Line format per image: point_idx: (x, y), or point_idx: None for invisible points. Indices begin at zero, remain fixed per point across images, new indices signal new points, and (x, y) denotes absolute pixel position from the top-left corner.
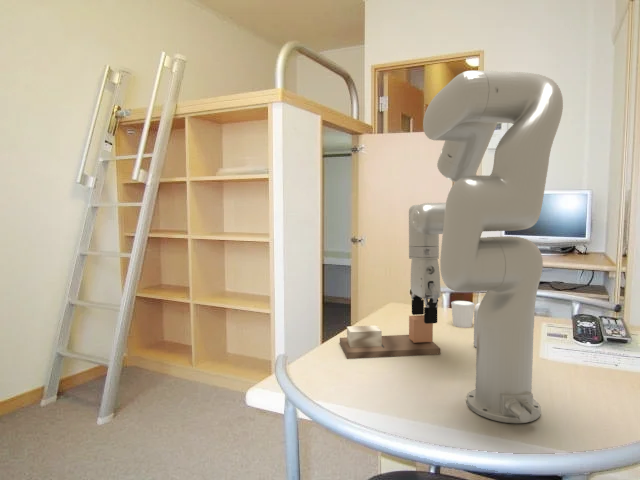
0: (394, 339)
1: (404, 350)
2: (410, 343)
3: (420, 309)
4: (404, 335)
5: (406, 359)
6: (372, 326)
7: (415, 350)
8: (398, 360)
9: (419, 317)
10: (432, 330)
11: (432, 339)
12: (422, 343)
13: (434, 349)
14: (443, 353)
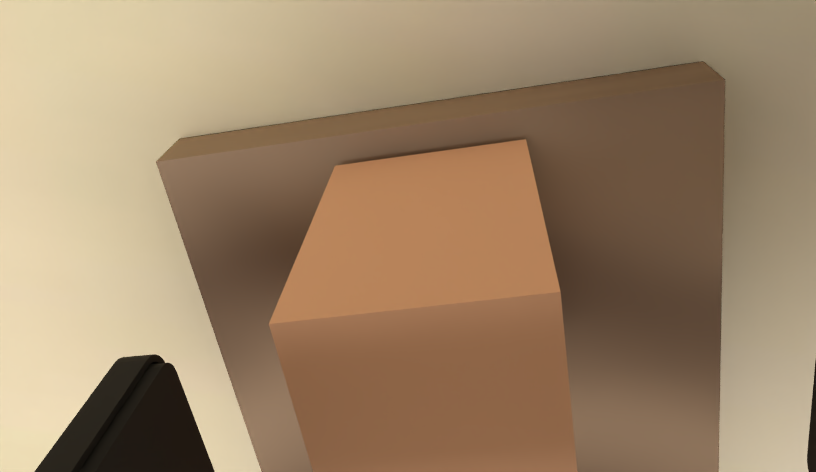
0: None
1: (717, 432)
2: None
3: (155, 465)
4: (247, 367)
5: (792, 394)
6: None
7: (717, 338)
8: (803, 453)
9: (448, 468)
10: (539, 201)
11: (528, 150)
12: None
13: (722, 147)
14: (678, 16)
